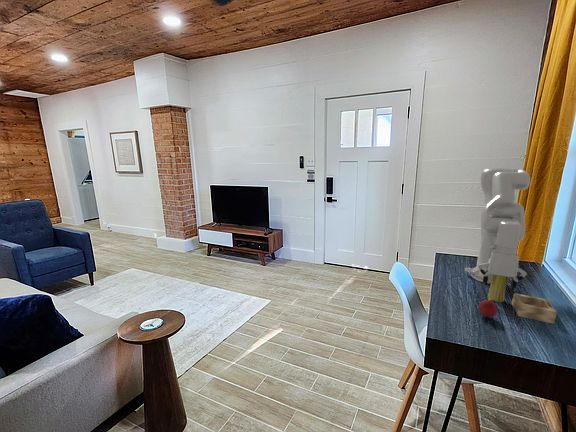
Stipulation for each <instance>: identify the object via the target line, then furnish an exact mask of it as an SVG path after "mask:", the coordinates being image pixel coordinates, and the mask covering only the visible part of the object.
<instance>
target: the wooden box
mask: <svg viewBox="0 0 576 432" xmlns="http://www.w3.org/2000/svg"><path fill="white" fill-rule="evenodd" d="M511 305H512V307H513V309H514V310H515V313H516V315H517V317H521V318H525V319H526V318H527V319H530V320H535V321H540V322H544V323H549V324H553V325H555V322H556V317H557V315H558V312H557V310H556V309H555V308H554V306H553V305H552V304H551V302H550V301H549V300H548V299H547V298H542V297H536V296H530V295H525V294H521V293H517V292H514V293H513V296H512V300H511Z"/></svg>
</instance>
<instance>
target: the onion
mask: <svg viewBox="0 0 576 432" xmlns="http://www.w3.org/2000/svg"><path fill="white" fill-rule="evenodd" d="M478 309H479V312H480V314H482V316H484V317H485V318H491V317H494V316H496V315H497V313H498V307H497V305H496V303H494V302H493V300H492V299H489V298H488V299H487V300H484V301H481V303H479V305H478Z"/></svg>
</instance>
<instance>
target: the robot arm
mask: <svg viewBox="0 0 576 432" xmlns="http://www.w3.org/2000/svg"><path fill="white" fill-rule="evenodd" d="M530 184H531V176H530V174H529V173H528V171H526V170H524V169H521V168H508V167H507V168H503V167H502V168H501V167H497V168H496V167H493V168H486V169H484V170H483V171H482V172H481V175H480V186H481V189H482V191H483V194H484V206H483V209H482V211H481V215H480V242H479V243H480V244H479V249H478V255H477V259H476V260H477V261H476V266H474V267H472V268H470V267H465V268H464V272H468V274H471V275H470V276H471V278H473V279H474V280H476V281H478V282H481V283H483V284H484V285H485V286H487V285H488V284H489V285H491V281H492V276H493V275H499V276H505V277H508V278H510V279H511V278H512V279H511V281H510V284H509V288H510V289H511V290H512V291H514V290H515V289H516V288H517V284H518V282H519V281H521V280H523V279H524V278H525V277H526V276H527V275H528V273H527V272H526V271H525V270H523V269H522V268H520V267H519V261H520V259H519V255H518V254H517V251H518V245H519V242H522V241H523V240H524V239H525V236H526V222H525V221H526V219H525V218H526V217H525V208H524V206H523V204H521V203H518V202H515V200H516V193H515V191H516V190H519V191H522V190H523V191H525V190H527V189H528V188H529V187H530ZM518 272H519V273H520V274H519V275H518Z"/></svg>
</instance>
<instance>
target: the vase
mask: <svg viewBox="0 0 576 432" xmlns="http://www.w3.org/2000/svg"><path fill="white" fill-rule="evenodd" d="M508 278H509V277H505V276H499V275H493V276H492V281H491V284H489V285H490V286H489V288H488V289H489V290H488V294H487V298H488V299H492V300H491V301H492V302H493V301H494V302H497V303H498V302H499V303H503V302H505V295H506V291H507V290H506V289H507V282H508Z"/></svg>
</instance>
